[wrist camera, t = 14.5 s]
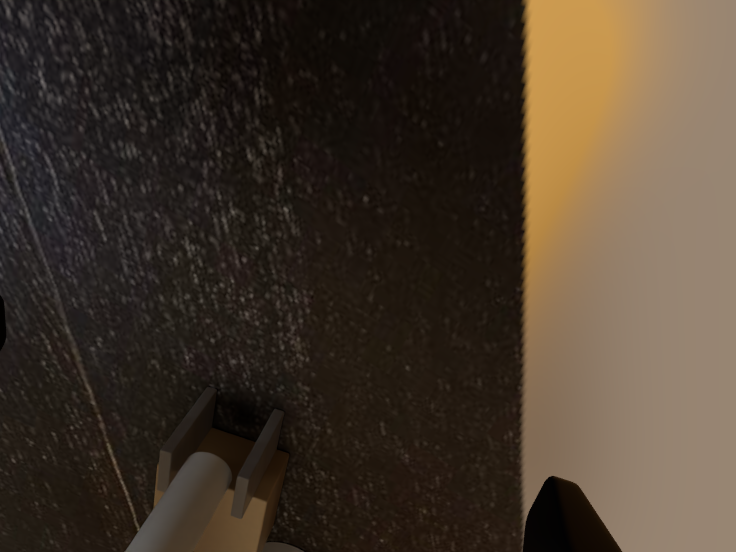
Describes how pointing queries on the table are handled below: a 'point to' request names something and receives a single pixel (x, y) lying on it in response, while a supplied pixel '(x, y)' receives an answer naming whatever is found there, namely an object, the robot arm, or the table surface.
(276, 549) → the tube
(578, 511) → the robot arm
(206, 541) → the tan block with prongs
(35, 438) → the table surface
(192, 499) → the marker
